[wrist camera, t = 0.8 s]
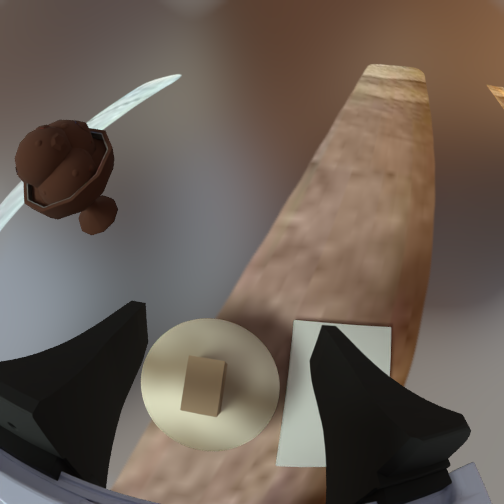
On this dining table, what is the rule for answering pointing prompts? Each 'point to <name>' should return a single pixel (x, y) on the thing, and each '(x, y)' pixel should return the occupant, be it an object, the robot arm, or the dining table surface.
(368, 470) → the robot arm
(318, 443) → the mat
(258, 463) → the dining table surface
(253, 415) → the lid
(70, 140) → the ice cream bowl
